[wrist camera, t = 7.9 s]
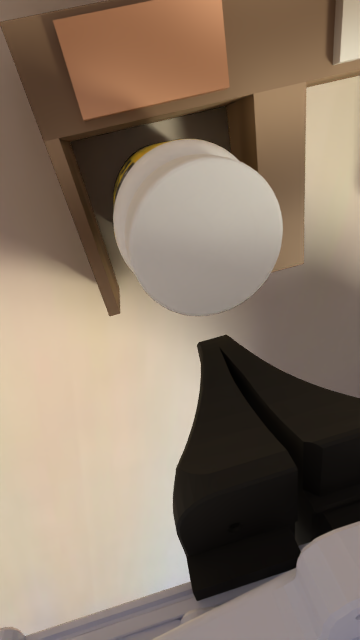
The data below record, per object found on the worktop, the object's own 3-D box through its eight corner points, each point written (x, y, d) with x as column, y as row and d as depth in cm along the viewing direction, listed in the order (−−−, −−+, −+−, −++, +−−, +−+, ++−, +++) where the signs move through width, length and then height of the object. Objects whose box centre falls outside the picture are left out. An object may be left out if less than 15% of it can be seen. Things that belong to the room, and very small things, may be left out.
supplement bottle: (107, 143, 13) (98, 129, 6) (211, 143, 14) (318, 130, 7) (119, 251, 15) (123, 338, 8) (207, 246, 16) (283, 321, 9)
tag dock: (395, 214, 17) (453, 227, 14) (110, 290, 16) (109, 320, 13) (437, -33, 12) (539, -92, 9) (25, 53, 11) (-6, 16, 8)
